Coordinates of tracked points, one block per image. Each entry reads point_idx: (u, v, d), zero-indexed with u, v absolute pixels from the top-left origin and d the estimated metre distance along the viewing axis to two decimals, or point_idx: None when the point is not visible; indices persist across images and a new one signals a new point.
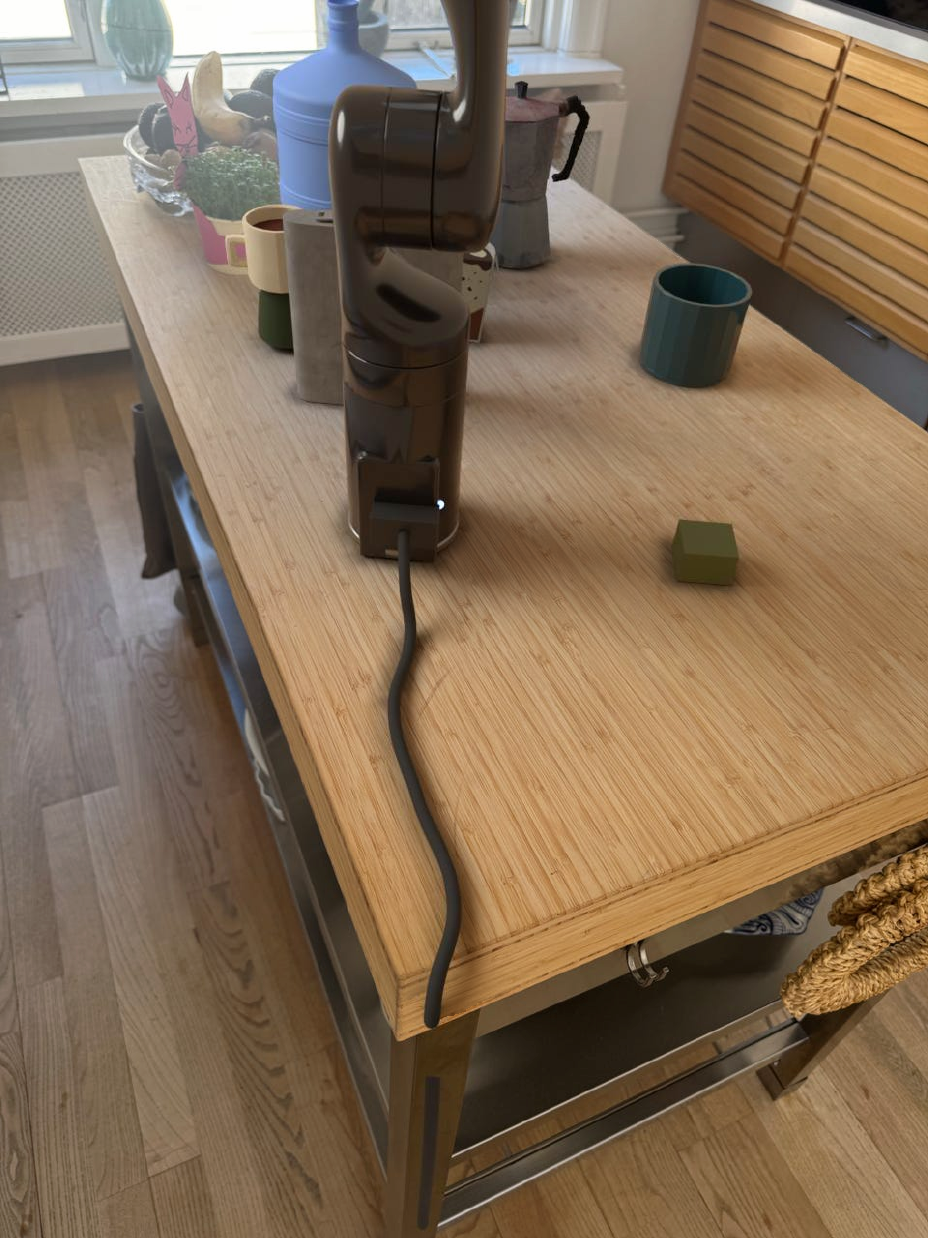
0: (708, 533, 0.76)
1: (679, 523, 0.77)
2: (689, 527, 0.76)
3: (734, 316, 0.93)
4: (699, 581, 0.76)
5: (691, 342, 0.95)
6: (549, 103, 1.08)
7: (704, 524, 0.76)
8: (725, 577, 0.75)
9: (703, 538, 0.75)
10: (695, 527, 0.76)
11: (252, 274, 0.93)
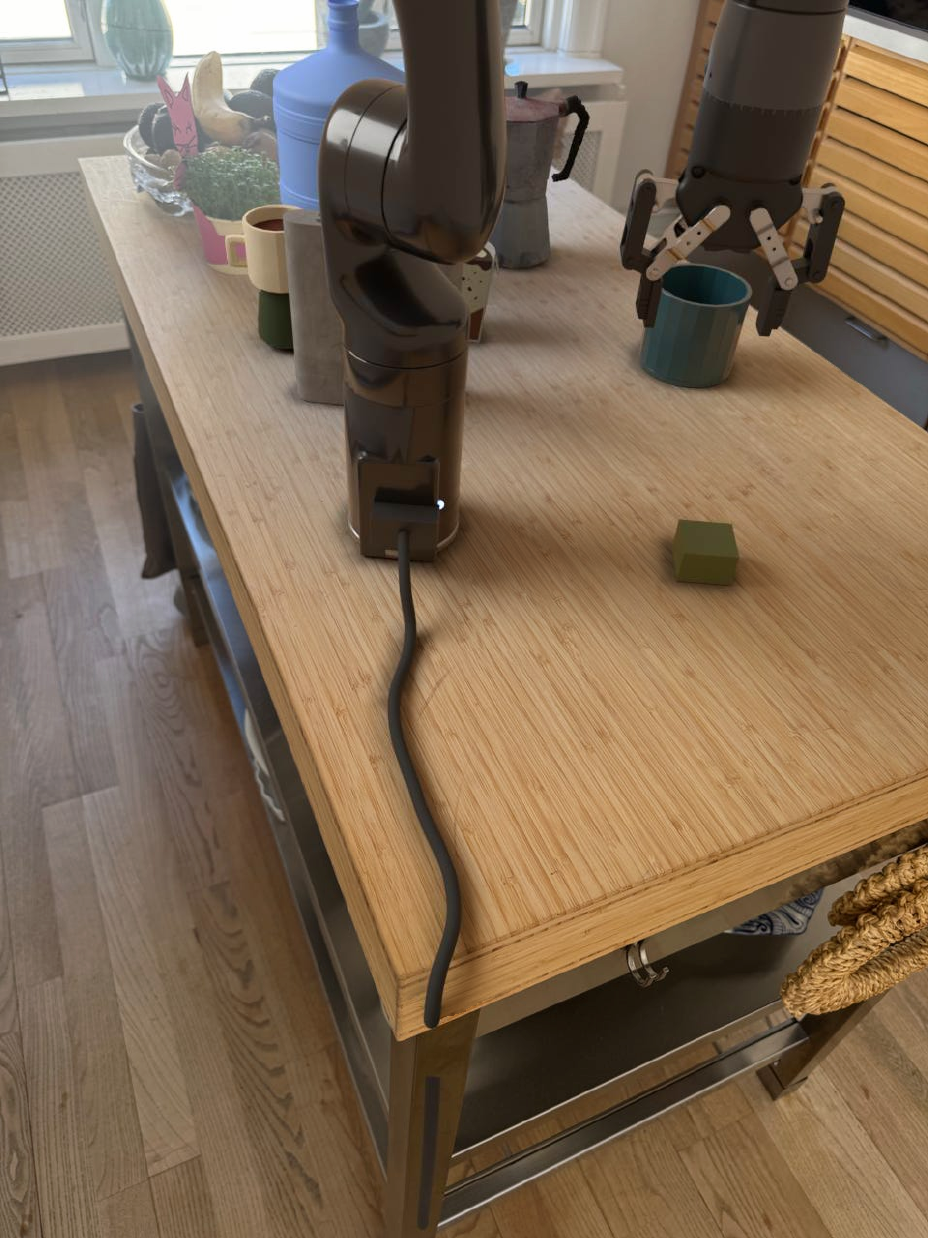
0: (708, 533, 0.76)
1: (679, 523, 0.77)
2: (689, 527, 0.76)
3: (734, 316, 0.93)
4: (699, 581, 0.76)
5: (691, 342, 0.95)
6: (549, 103, 1.08)
7: (704, 524, 0.76)
8: (725, 577, 0.75)
9: (703, 538, 0.75)
10: (695, 527, 0.76)
11: (252, 274, 0.93)
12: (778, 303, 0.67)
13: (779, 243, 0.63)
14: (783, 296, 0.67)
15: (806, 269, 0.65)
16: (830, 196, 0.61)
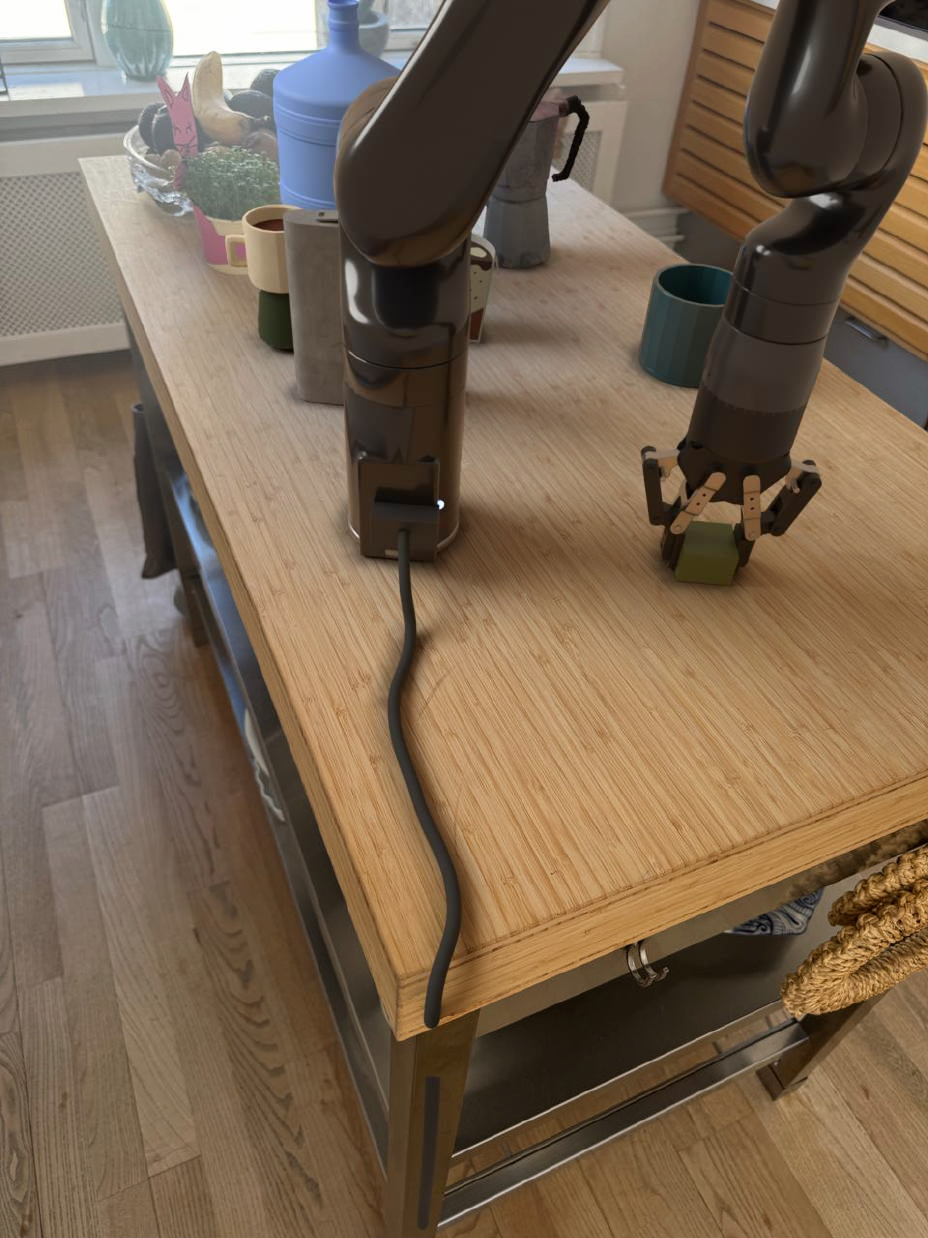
0: (708, 533, 0.76)
1: None
2: (689, 527, 0.76)
3: None
4: (699, 581, 0.76)
5: (691, 342, 0.95)
6: (549, 103, 1.08)
7: (704, 524, 0.76)
8: (725, 578, 0.75)
9: (703, 538, 0.75)
10: (695, 527, 0.76)
11: (252, 274, 0.93)
12: (743, 549, 0.74)
13: (758, 505, 0.71)
14: (748, 543, 0.74)
15: (770, 522, 0.73)
16: (811, 476, 0.69)
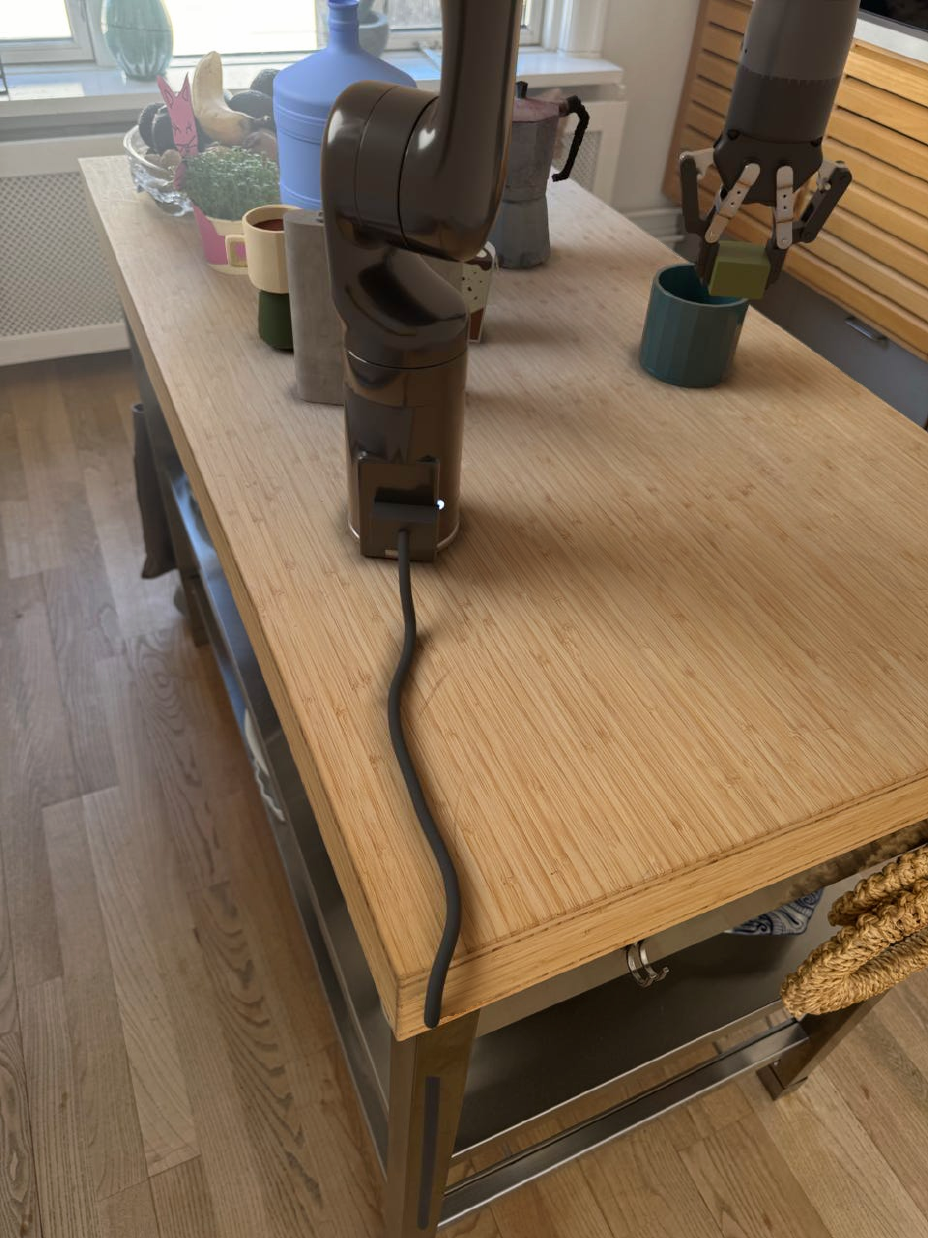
0: (741, 249, 0.79)
1: None
2: (722, 244, 0.79)
3: (734, 316, 0.93)
4: (732, 295, 0.79)
5: (691, 342, 0.95)
6: (549, 103, 1.08)
7: (737, 243, 0.80)
8: (757, 290, 0.78)
9: (736, 252, 0.78)
10: (728, 244, 0.79)
11: (252, 274, 0.93)
12: (775, 260, 0.78)
13: (790, 203, 0.74)
14: (780, 254, 0.78)
15: (801, 228, 0.76)
16: (842, 170, 0.73)
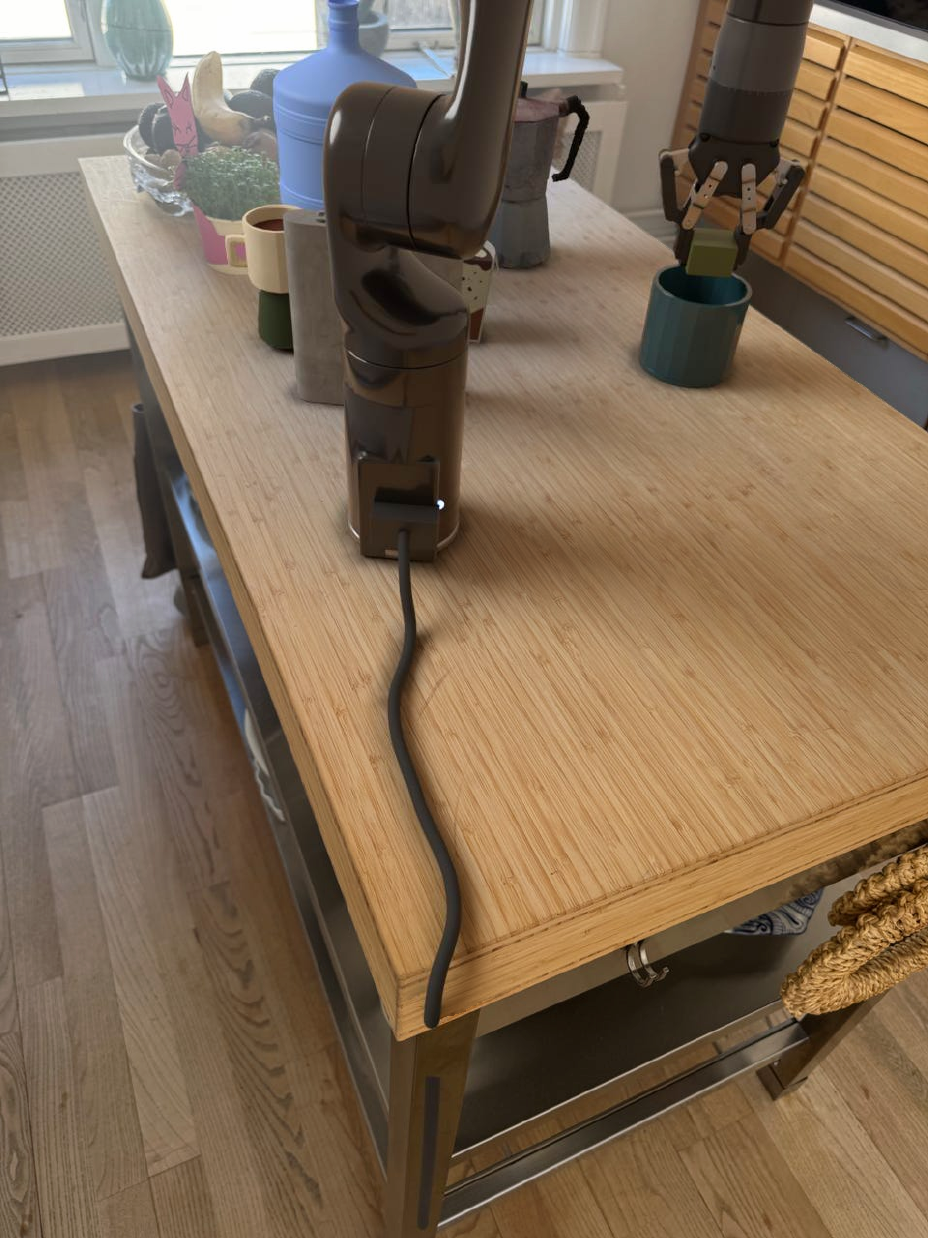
0: (713, 235, 0.92)
1: None
2: (697, 231, 0.93)
3: (734, 316, 0.93)
4: (705, 274, 0.92)
5: (691, 342, 0.95)
6: (549, 103, 1.08)
7: (710, 230, 0.93)
8: (727, 269, 0.92)
9: (709, 237, 0.92)
10: (702, 231, 0.93)
11: (252, 274, 0.93)
12: (742, 244, 0.91)
13: (754, 195, 0.87)
14: (746, 239, 0.91)
15: (763, 216, 0.90)
16: (796, 167, 0.86)
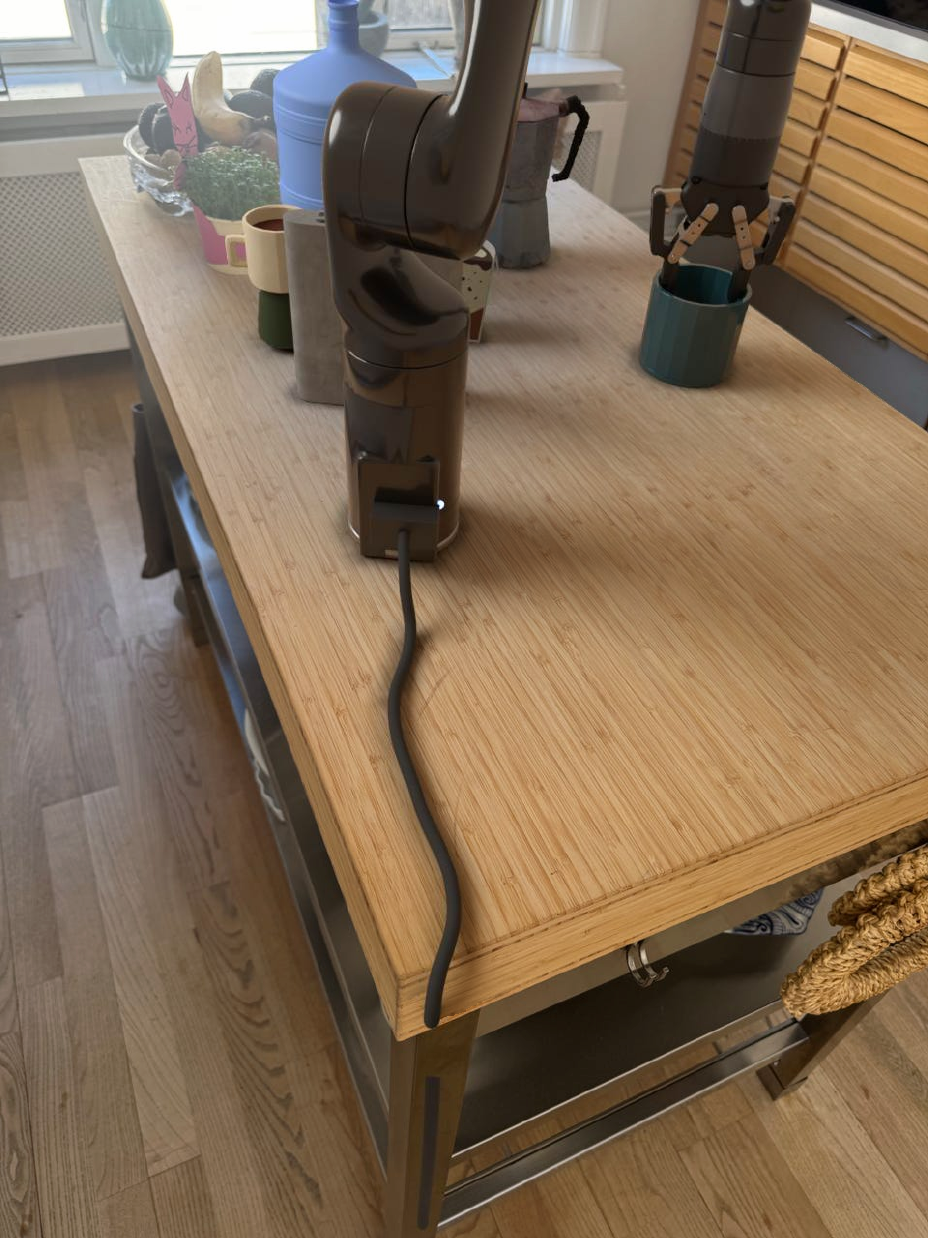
0: None
1: None
2: None
3: (734, 316, 0.93)
4: None
5: (691, 342, 0.95)
6: (549, 103, 1.08)
7: None
8: None
9: None
10: None
11: (252, 274, 0.93)
12: (741, 279, 0.94)
13: (748, 234, 0.90)
14: (745, 274, 0.94)
15: (762, 253, 0.92)
16: (787, 204, 0.88)
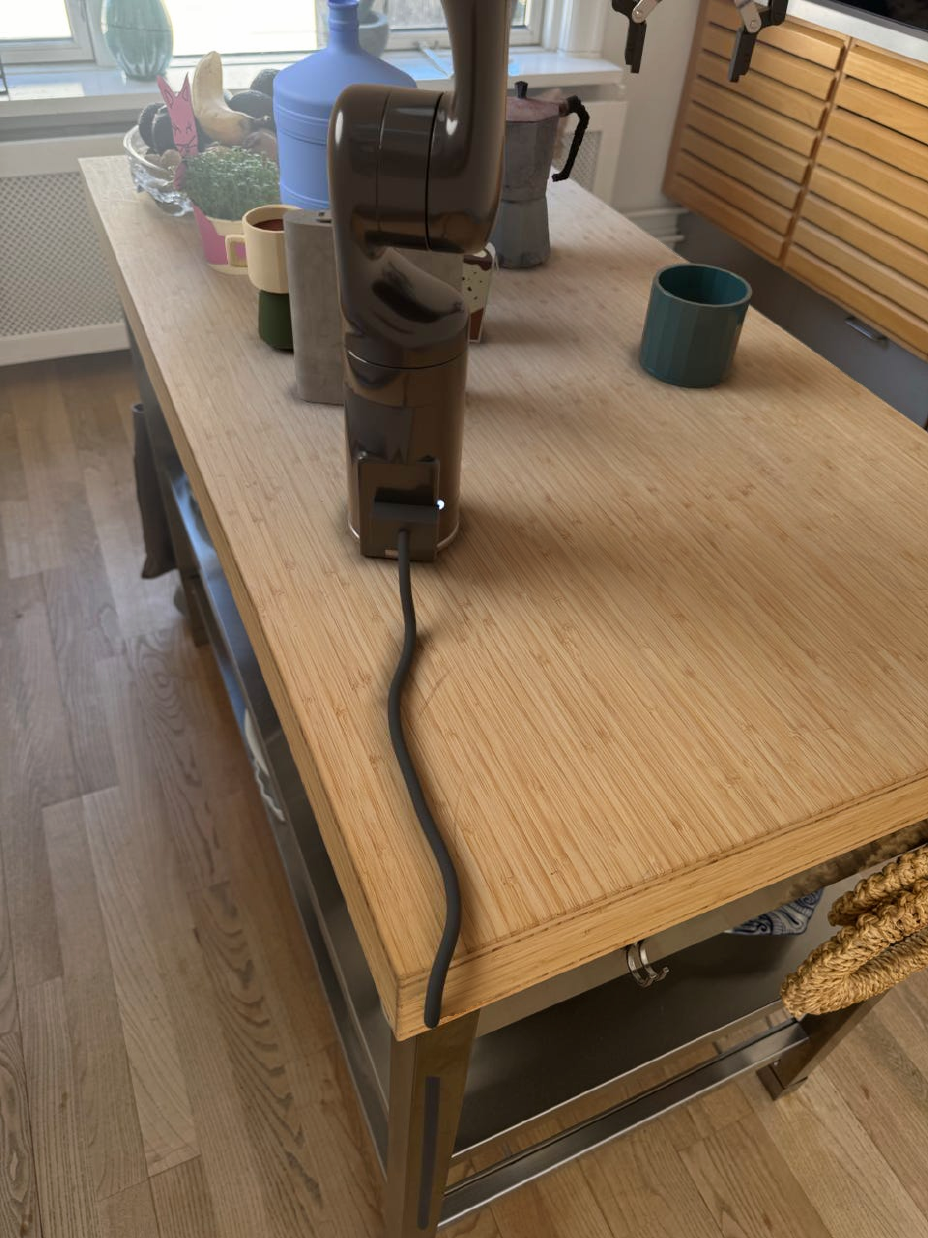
0: None
1: None
2: None
3: (734, 316, 0.93)
4: None
5: (691, 342, 0.95)
6: (549, 103, 1.08)
7: None
8: None
9: None
10: None
11: (252, 274, 0.93)
12: (745, 46, 0.78)
13: None
14: (749, 41, 0.78)
15: (768, 13, 0.76)
16: None
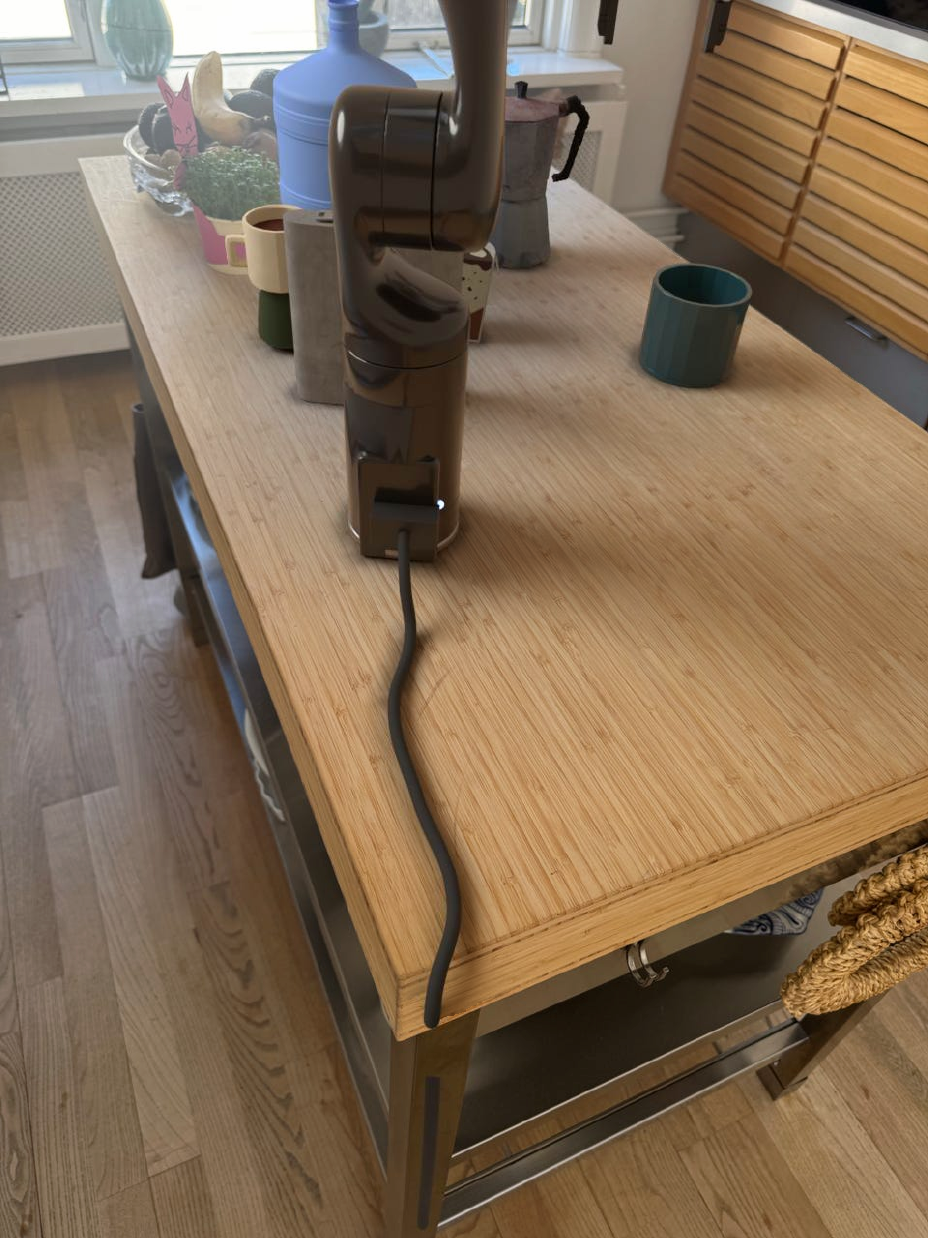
0: None
1: None
2: None
3: (734, 316, 0.93)
4: None
5: (691, 342, 0.95)
6: (549, 103, 1.08)
7: None
8: None
9: None
10: None
11: (252, 274, 0.93)
12: (719, 16, 0.76)
13: None
14: (724, 10, 0.76)
15: None
16: None
